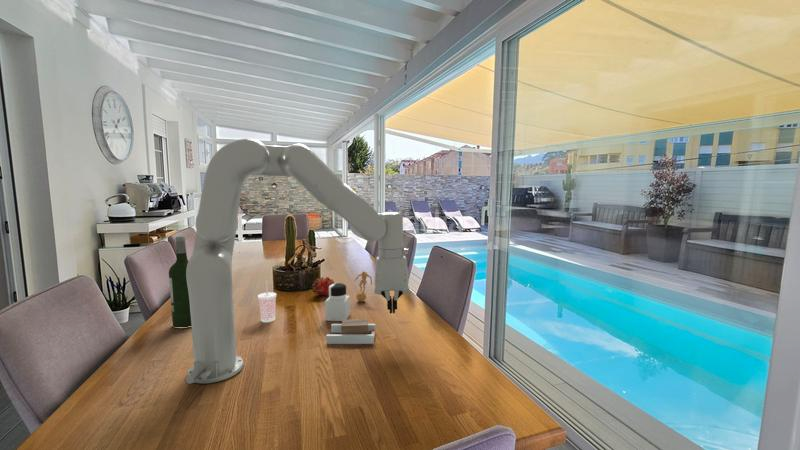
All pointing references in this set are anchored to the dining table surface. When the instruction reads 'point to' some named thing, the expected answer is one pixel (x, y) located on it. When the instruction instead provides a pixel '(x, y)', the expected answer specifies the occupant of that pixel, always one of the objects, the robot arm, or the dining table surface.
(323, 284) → the dragon fruit
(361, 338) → the channel
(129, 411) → the dining table surface
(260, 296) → the beverage cup
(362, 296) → the figurine
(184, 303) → the wine bottle
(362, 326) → the block
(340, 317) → the medicine bottle
